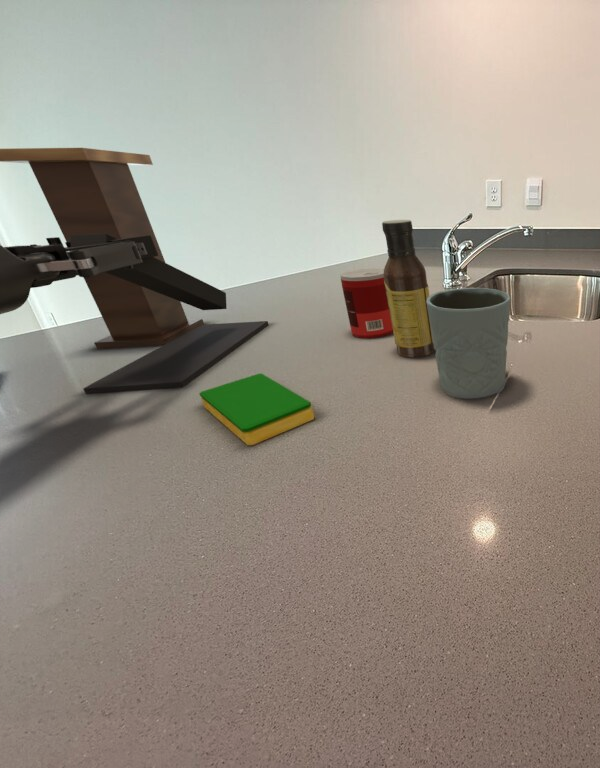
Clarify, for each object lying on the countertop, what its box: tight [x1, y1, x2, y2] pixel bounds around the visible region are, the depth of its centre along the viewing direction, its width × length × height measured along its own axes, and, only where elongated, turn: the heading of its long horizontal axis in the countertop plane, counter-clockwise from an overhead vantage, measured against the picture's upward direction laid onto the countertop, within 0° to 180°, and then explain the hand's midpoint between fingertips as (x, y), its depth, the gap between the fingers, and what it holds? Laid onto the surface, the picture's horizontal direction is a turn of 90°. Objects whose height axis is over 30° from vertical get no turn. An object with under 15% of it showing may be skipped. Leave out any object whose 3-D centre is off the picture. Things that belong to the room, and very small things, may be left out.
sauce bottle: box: [381, 219, 436, 358], centre depth 61 cm, size 6×6×20 cm
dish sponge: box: [199, 373, 315, 446], centre depth 48 cm, size 7×14×2 cm, turn 51°
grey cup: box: [426, 287, 511, 400], centre depth 51 cm, size 10×10×12 cm
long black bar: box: [70, 234, 228, 311], centre depth 61 cm, size 24×4×3 cm, turn 6°
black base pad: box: [82, 320, 270, 395], centre depth 67 cm, size 28×12×1 cm, turn 7°
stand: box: [0, 147, 205, 350], centre depth 69 cm, size 14×12×30 cm
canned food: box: [340, 268, 394, 339], centre depth 72 cm, size 8×8×11 cm
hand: (132, 246), depth 55 cm, fingers closed on long black bar, 4 cm apart
